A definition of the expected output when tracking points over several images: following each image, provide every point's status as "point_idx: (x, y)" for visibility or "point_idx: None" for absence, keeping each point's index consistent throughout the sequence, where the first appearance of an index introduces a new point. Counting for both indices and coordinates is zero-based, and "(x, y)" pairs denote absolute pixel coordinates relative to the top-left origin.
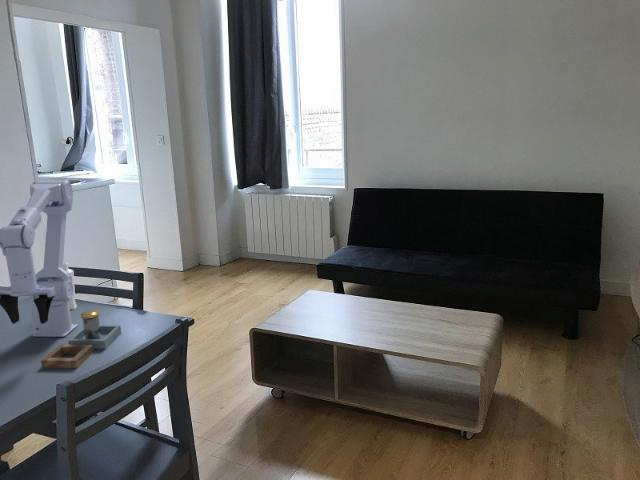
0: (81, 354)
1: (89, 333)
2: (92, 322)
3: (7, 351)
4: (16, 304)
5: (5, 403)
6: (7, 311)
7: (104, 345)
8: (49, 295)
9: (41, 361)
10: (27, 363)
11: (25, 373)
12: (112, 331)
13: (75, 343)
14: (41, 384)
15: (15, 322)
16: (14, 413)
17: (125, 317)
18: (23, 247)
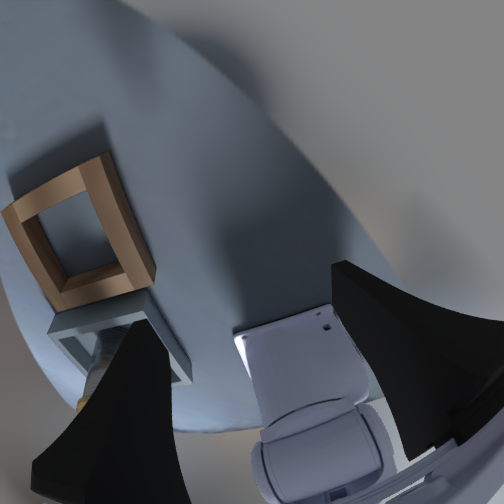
0: (23, 252)
1: (99, 352)
2: (85, 387)
3: (343, 210)
4: (387, 387)
5: None
6: (410, 305)
7: (53, 322)
8: None
9: (99, 156)
10: (196, 156)
11: (134, 94)
12: (87, 374)
13: (122, 308)
14: (29, 76)
15: (332, 275)
16: None
17: (179, 417)
18: None
